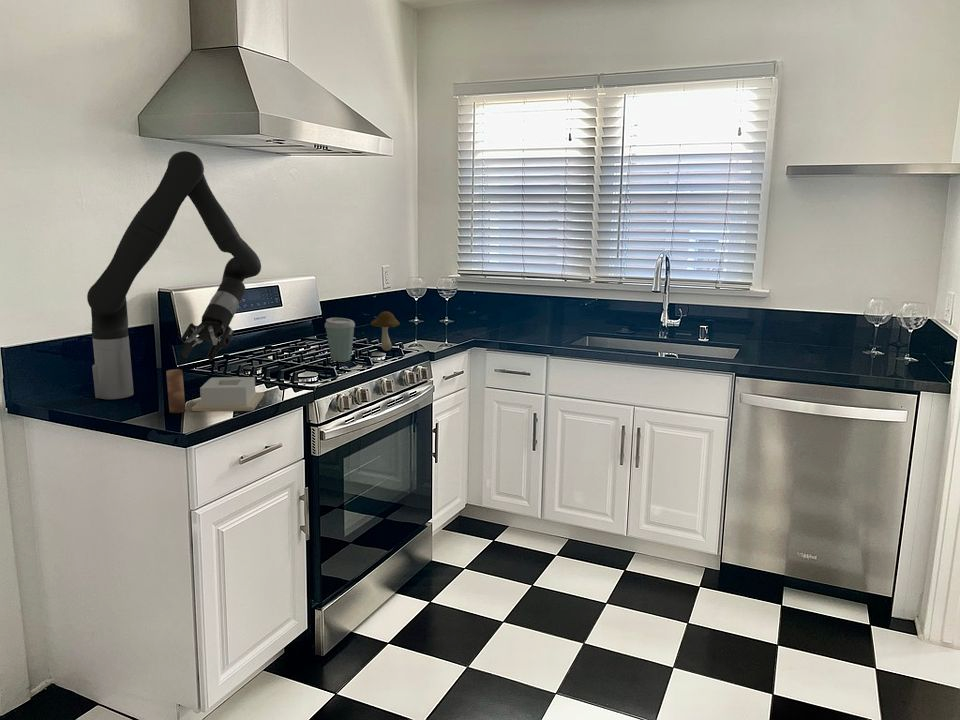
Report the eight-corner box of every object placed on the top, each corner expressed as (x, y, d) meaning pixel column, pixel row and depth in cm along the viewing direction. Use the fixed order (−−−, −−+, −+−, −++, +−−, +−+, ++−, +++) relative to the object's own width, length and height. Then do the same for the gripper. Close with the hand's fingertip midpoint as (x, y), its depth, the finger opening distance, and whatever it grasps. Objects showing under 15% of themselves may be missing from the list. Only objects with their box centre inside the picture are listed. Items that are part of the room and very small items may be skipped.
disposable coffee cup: (359, 358, 269) (358, 317, 266) (351, 365, 259) (350, 322, 256) (330, 357, 270) (329, 316, 267) (321, 364, 260) (320, 321, 257)
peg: (167, 413, 200) (164, 372, 197) (172, 409, 204) (168, 369, 201) (182, 412, 200) (179, 372, 198) (187, 408, 204) (184, 369, 202)
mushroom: (379, 347, 290) (378, 308, 287) (405, 350, 285) (404, 310, 282) (366, 351, 282) (365, 311, 279) (391, 354, 277) (391, 314, 274)
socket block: (191, 411, 201) (190, 389, 200) (207, 396, 217) (206, 376, 215) (253, 410, 203) (251, 389, 201) (264, 395, 218) (263, 375, 217)
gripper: (193, 301, 215) (167, 348, 206) (235, 304, 210) (210, 352, 202) (207, 317, 221) (182, 363, 212) (248, 320, 216) (224, 367, 208)
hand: (196, 357), depth 207 cm, fingers open, 8 cm apart
